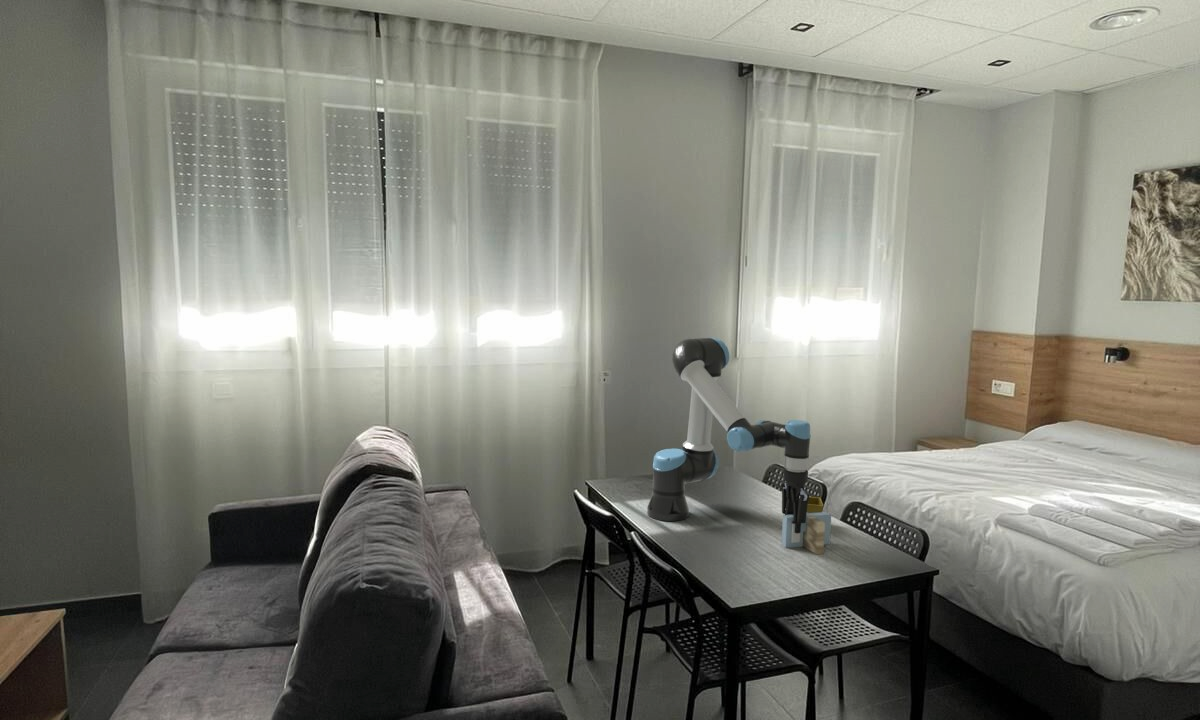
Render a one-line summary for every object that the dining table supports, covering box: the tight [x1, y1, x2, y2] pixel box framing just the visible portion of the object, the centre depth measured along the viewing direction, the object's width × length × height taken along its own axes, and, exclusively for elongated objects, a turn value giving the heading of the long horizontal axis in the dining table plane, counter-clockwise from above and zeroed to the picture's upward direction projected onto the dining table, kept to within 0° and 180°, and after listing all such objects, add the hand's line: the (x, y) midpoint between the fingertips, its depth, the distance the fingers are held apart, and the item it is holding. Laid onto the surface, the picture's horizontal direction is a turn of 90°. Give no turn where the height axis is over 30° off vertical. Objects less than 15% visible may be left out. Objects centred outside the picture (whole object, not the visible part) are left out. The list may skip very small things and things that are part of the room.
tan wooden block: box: [802, 517, 825, 555], centre depth 212 cm, size 16×2×10 cm, turn 14°
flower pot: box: [807, 496, 824, 513], centre depth 230 cm, size 9×9×9 cm
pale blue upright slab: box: [781, 511, 832, 549], centre depth 212 cm, size 16×2×10 cm, turn 104°
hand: (792, 539), depth 211 cm, fingers open, 3 cm apart
